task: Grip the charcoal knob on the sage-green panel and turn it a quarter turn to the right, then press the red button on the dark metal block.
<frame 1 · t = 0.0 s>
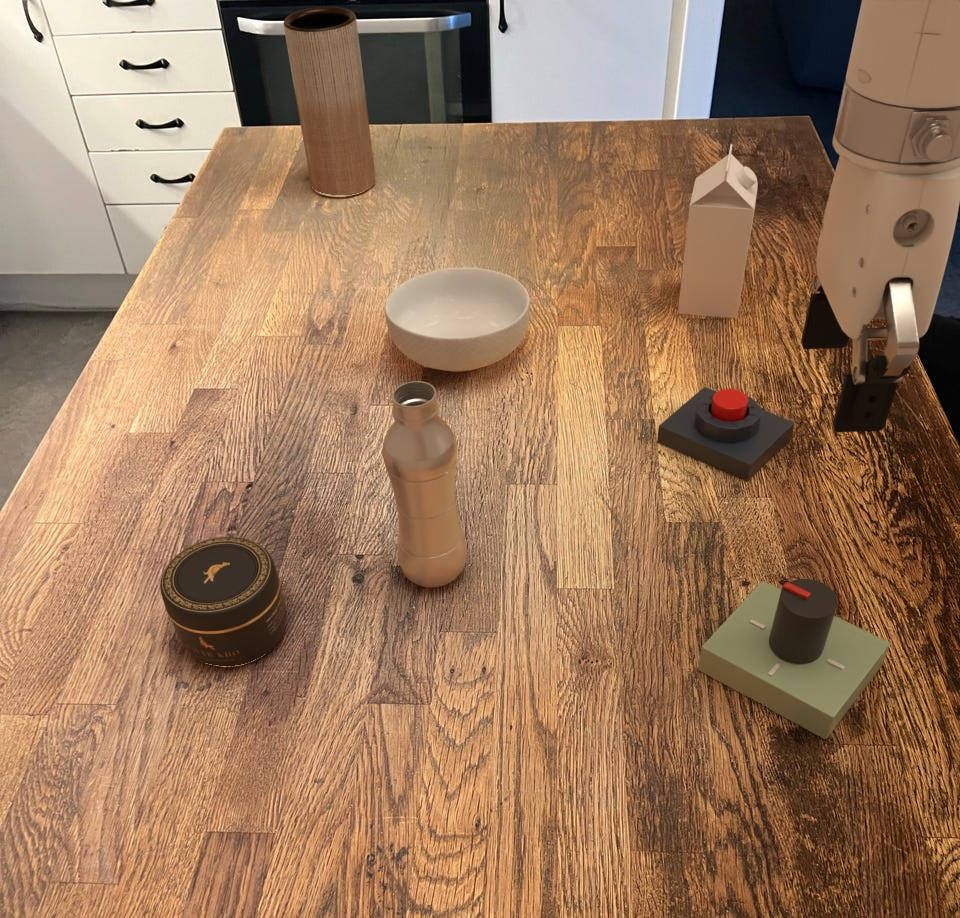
hand: (839, 385, 67), 26 cm above the kitchen island, tool pointing down, fingers open, 9 cm apart
planter: (344, 185, 154), on the kitchen island
button block: (723, 441, 106), on the kitchen island
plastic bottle: (434, 573, 95), on the kitchen island
knob: (802, 620, 80), point 6 cm above the kitchen island, hinge at 0.0°
button: (729, 405, 103), point 4 cm above the kitchen island, slide at 0.1 cm
cereal bowl: (460, 355, 120), on the kitchen island
milk carton: (707, 315, 124), on the kitchen island
jar: (237, 634, 91), on the kitchen island
panel: (789, 667, 85), on the kitchen island
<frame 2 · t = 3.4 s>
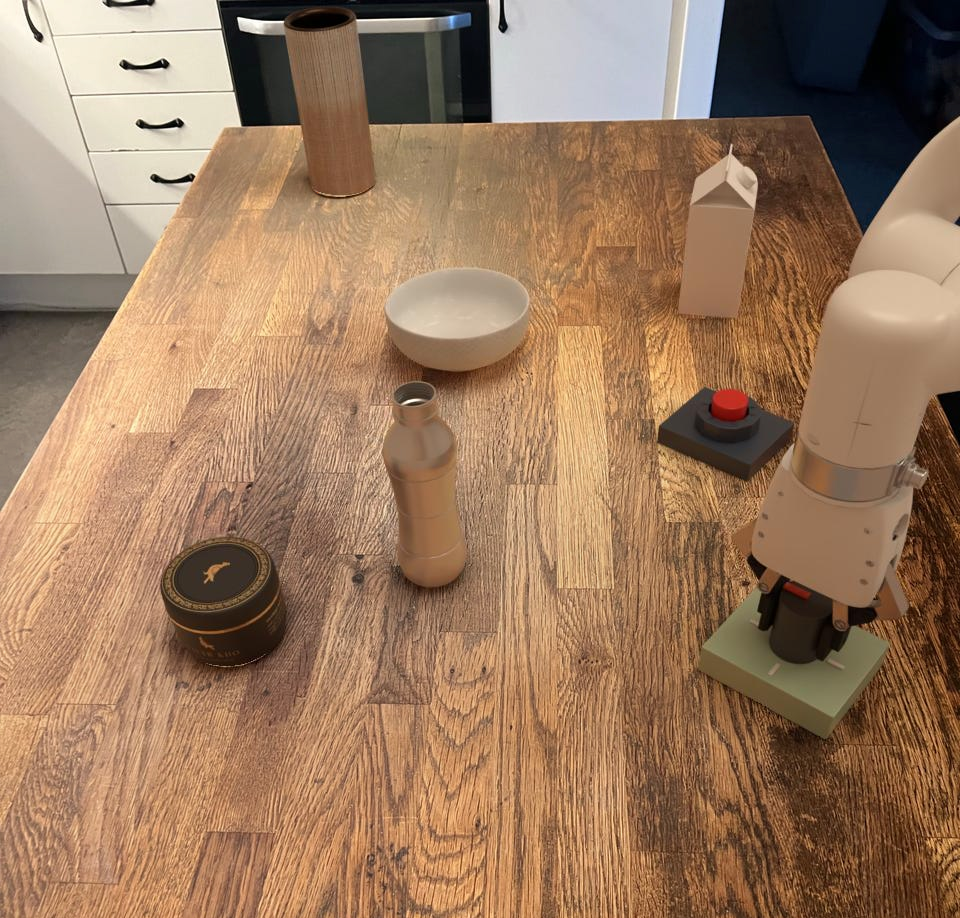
hand: (798, 633, 82), 4 cm above the kitchen island, tool pointing down, fingers closed on knob, 4 cm apart
knob: (802, 620, 80), point 6 cm above the kitchen island, hinge at -0.1°, touching gripper
everything else where it was.
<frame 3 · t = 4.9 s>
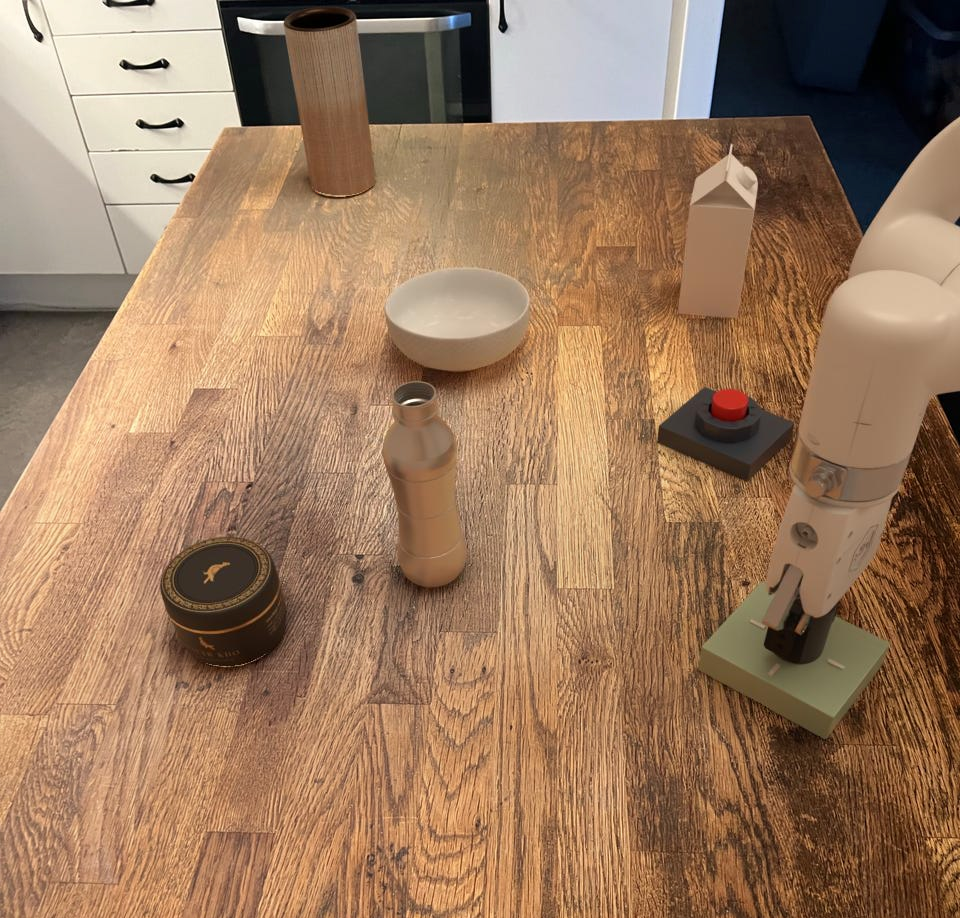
hand: (798, 633, 82), 4 cm above the kitchen island, tool pointing down, fingers closed on knob, 4 cm apart
knob: (802, 620, 80), point 6 cm above the kitchen island, hinge at -90.1°, touching gripper
everything else where it was.
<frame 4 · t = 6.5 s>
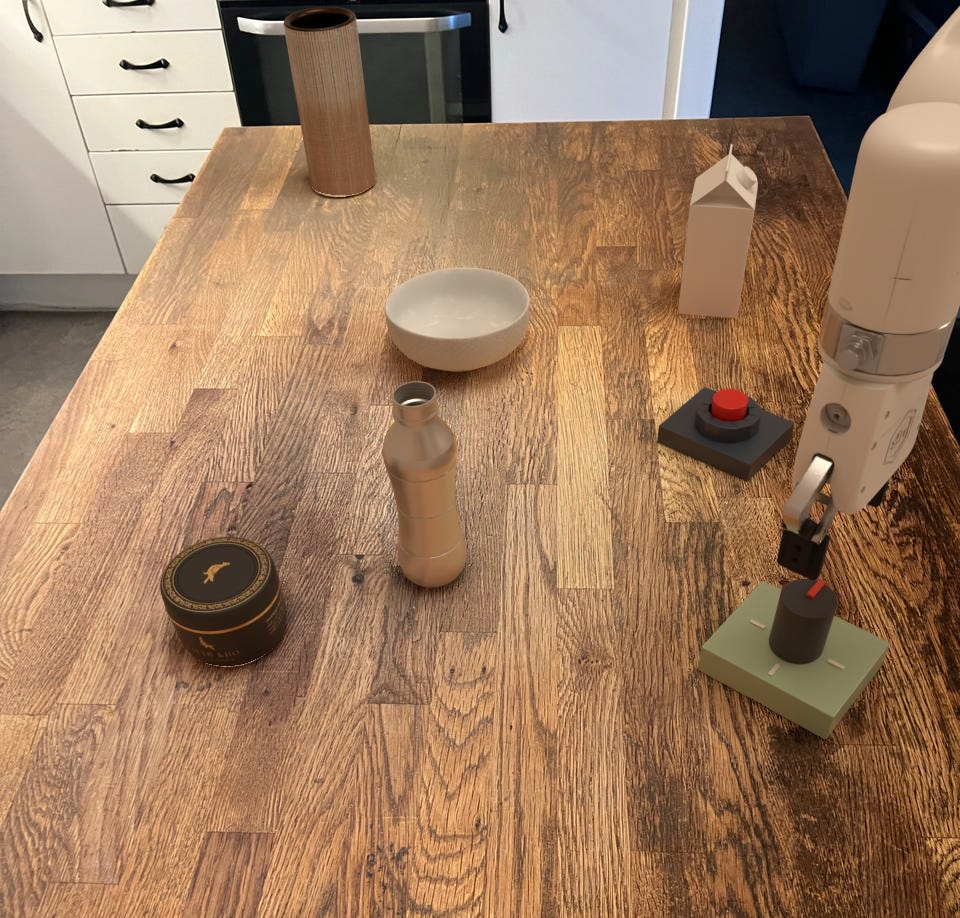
hand: (829, 533, 74), 15 cm above the kitchen island, tool pointing down, fingers open, 9 cm apart
knob: (802, 620, 80), point 6 cm above the kitchen island, hinge at -89.6°
everything else where it was.
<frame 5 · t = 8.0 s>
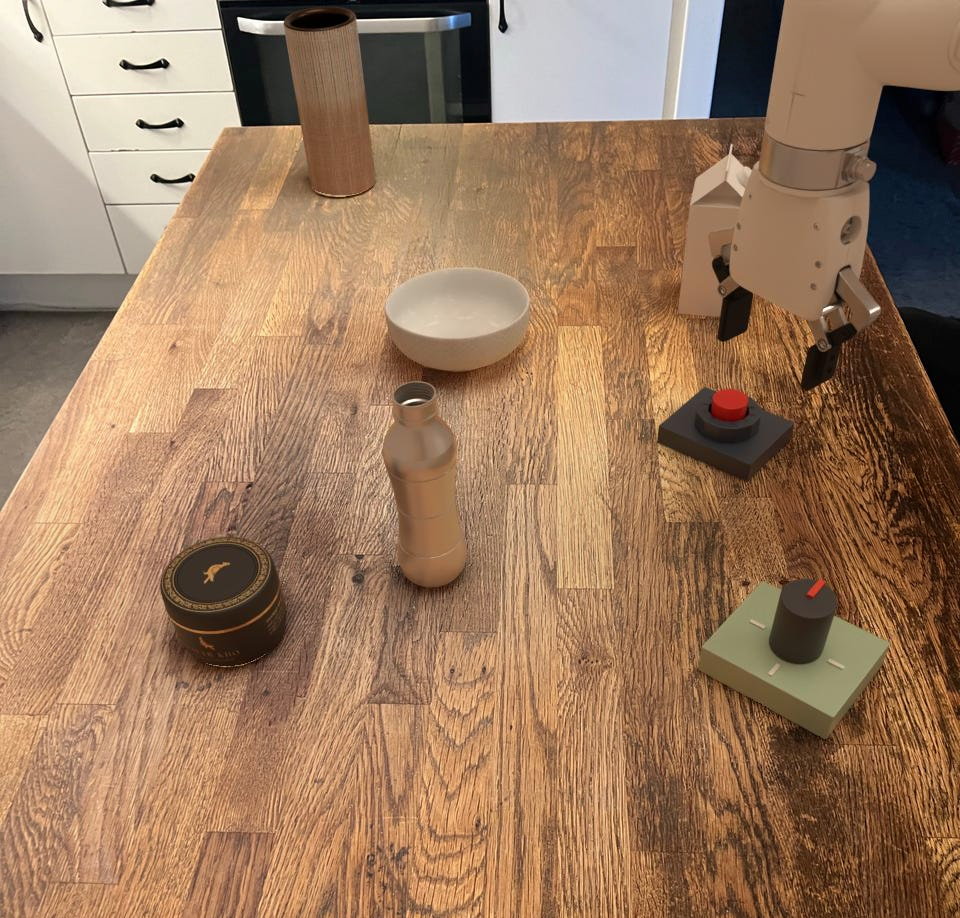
hand: (772, 359, 86), 17 cm above the kitchen island, tool pointing down, fingers open, 9 cm apart
nothing on the kitchen island moved.
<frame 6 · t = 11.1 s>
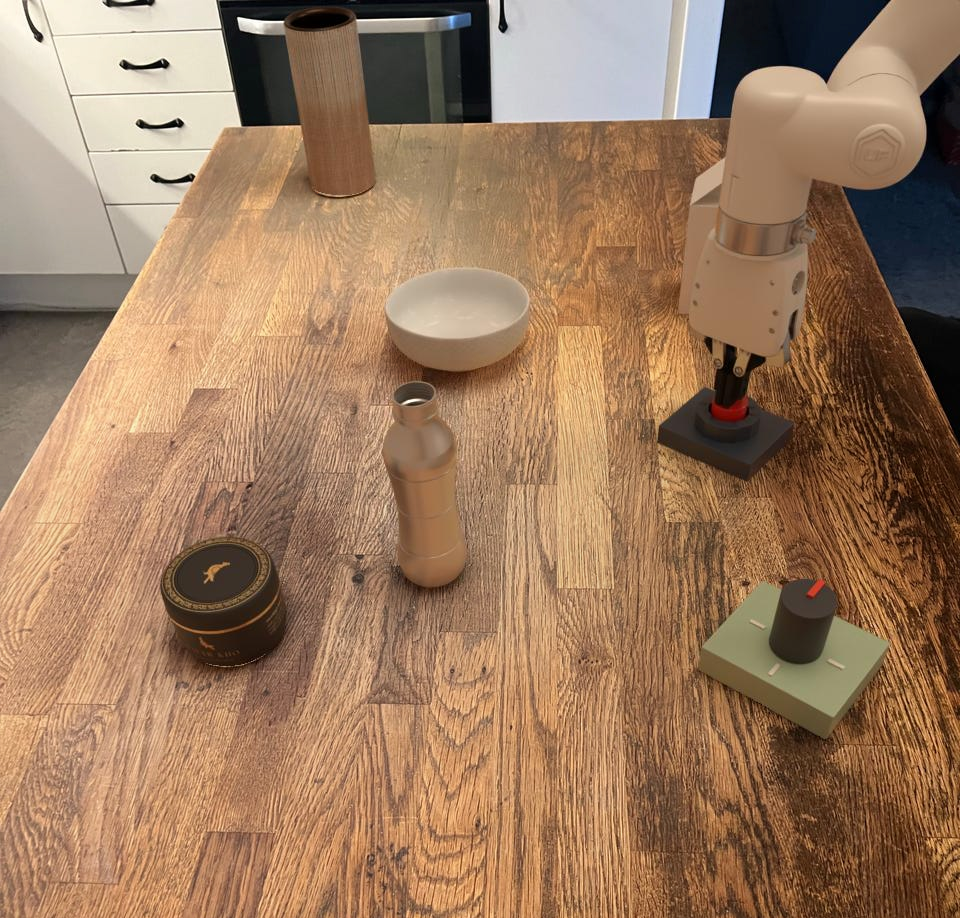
hand: (728, 399, 102), 5 cm above the kitchen island, tool pointing down, fingers closed
button: (729, 407, 103), point 4 cm above the kitchen island, slide at -0.1 cm, touching gripper
everything else where it was.
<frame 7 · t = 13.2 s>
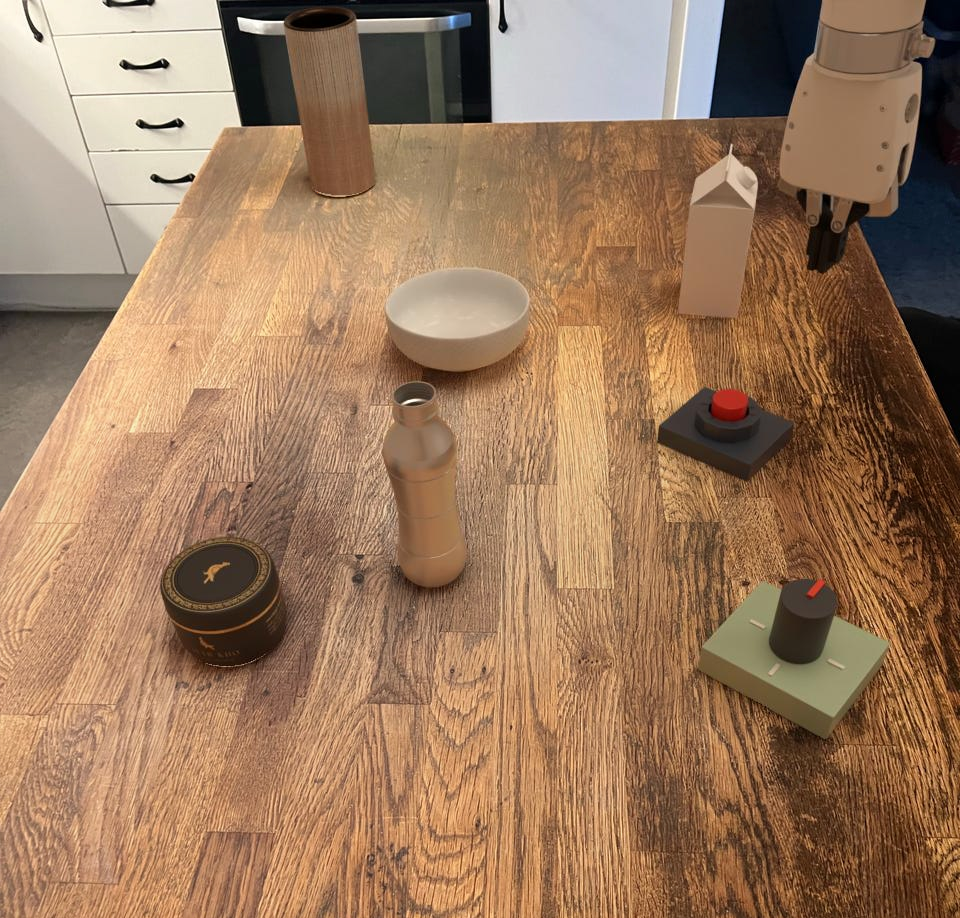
hand: (822, 265, 92), 19 cm above the kitchen island, tool pointing down, fingers closed
button: (729, 405, 103), point 4 cm above the kitchen island, slide at 0.1 cm
everything else where it was.
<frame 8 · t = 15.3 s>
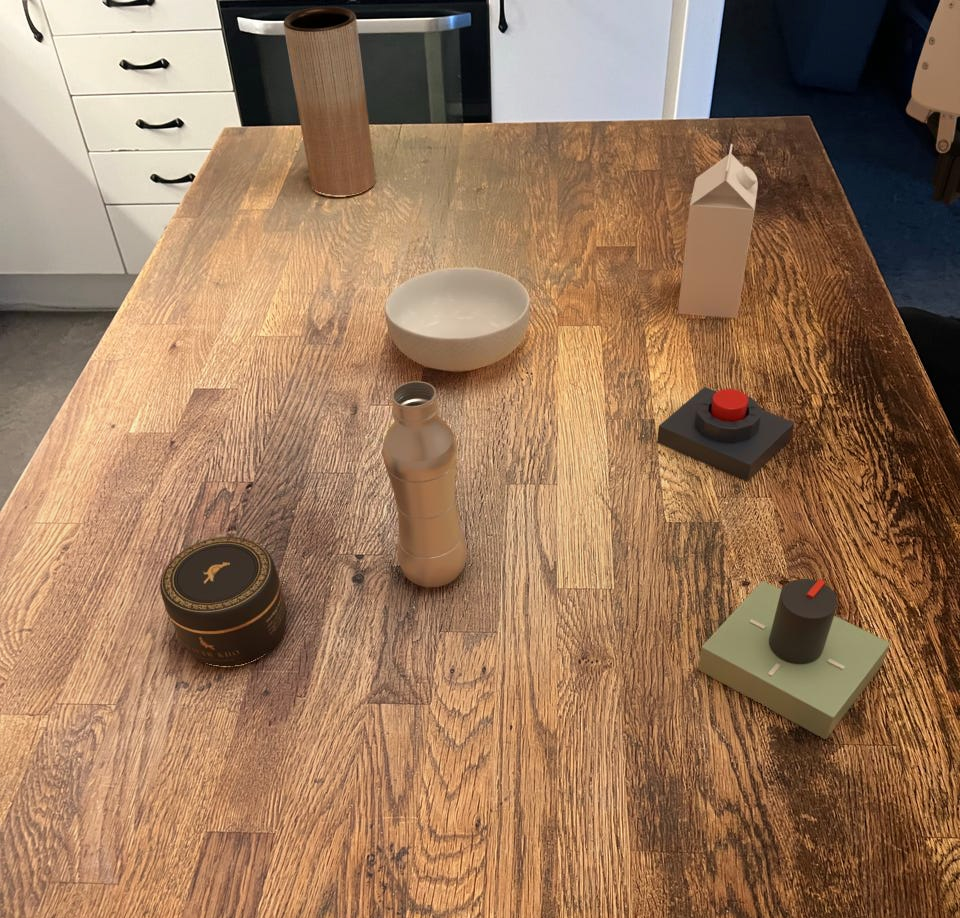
hand: (947, 197, 87), 25 cm above the kitchen island, tool pointing down, fingers closed
nothing on the kitchen island moved.
at the end: knob at -90° (first picture: +0°); button pushed in 1.1 cm at the most during the clip, back to where it started at the end; button slide at 0.1 cm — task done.
